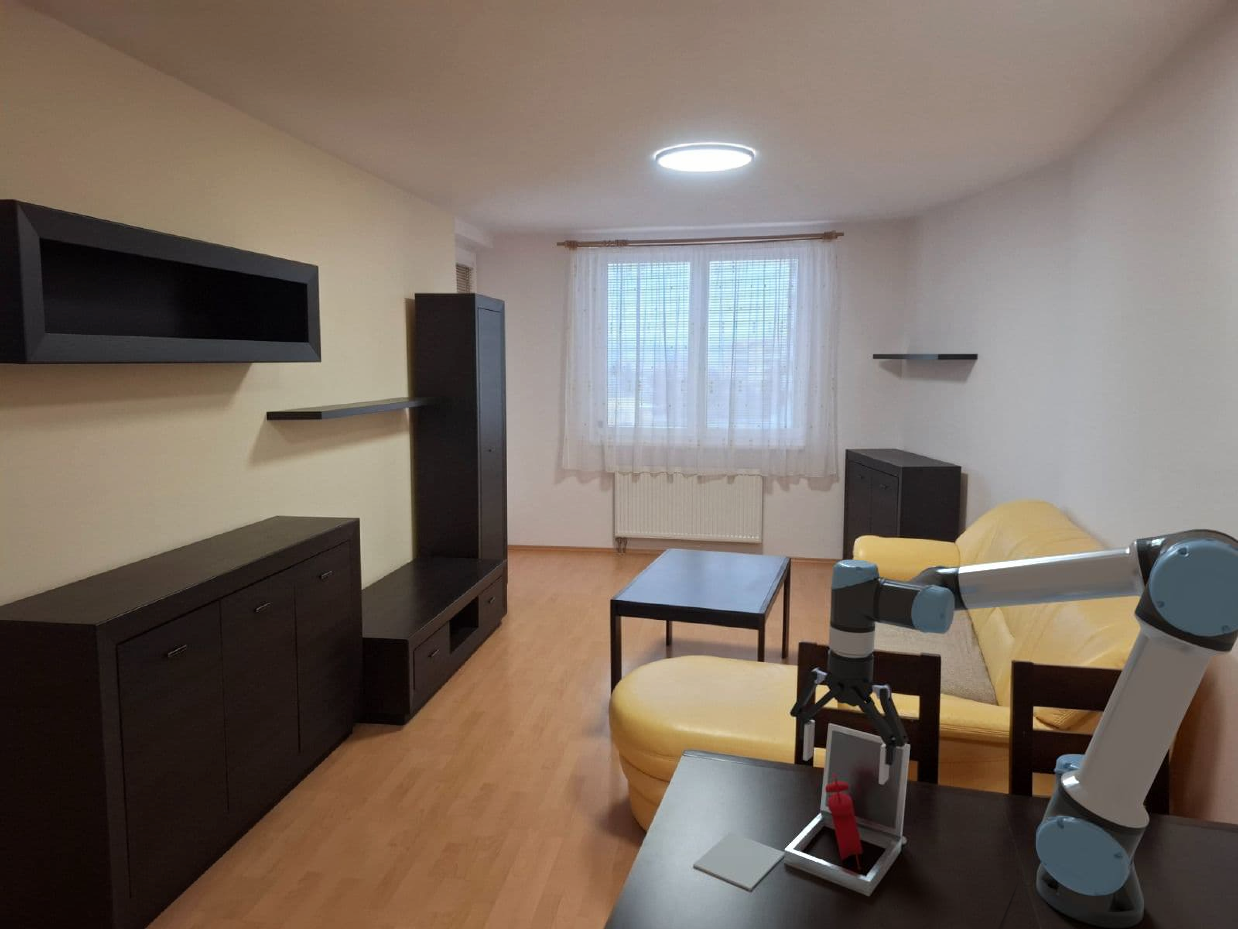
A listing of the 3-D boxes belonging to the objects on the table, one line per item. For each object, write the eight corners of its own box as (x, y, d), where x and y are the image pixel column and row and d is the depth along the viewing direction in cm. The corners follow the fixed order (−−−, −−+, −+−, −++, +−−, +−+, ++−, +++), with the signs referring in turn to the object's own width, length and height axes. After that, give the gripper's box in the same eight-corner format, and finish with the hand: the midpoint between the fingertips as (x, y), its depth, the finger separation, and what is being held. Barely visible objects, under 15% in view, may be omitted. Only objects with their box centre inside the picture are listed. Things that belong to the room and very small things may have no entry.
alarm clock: (865, 877, 137) (868, 792, 136) (827, 873, 138) (829, 788, 137) (858, 843, 147) (860, 764, 146) (822, 839, 148) (825, 761, 147)
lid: (899, 836, 144) (902, 835, 145) (908, 746, 144) (910, 744, 145) (819, 809, 152) (822, 808, 153) (827, 724, 153) (830, 723, 154)
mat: (785, 854, 143) (785, 852, 143) (750, 890, 133) (750, 888, 133) (730, 834, 150) (730, 831, 150) (693, 866, 139) (693, 864, 139)
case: (900, 852, 145) (901, 836, 144) (869, 896, 132) (869, 879, 132) (820, 824, 154) (821, 809, 153) (784, 863, 141) (784, 847, 140)
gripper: (932, 661, 135) (924, 783, 137) (792, 631, 150) (787, 741, 152) (918, 673, 129) (910, 800, 131) (774, 641, 144) (769, 755, 146)
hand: (844, 769), depth 141 cm, fingers open, 13 cm apart
